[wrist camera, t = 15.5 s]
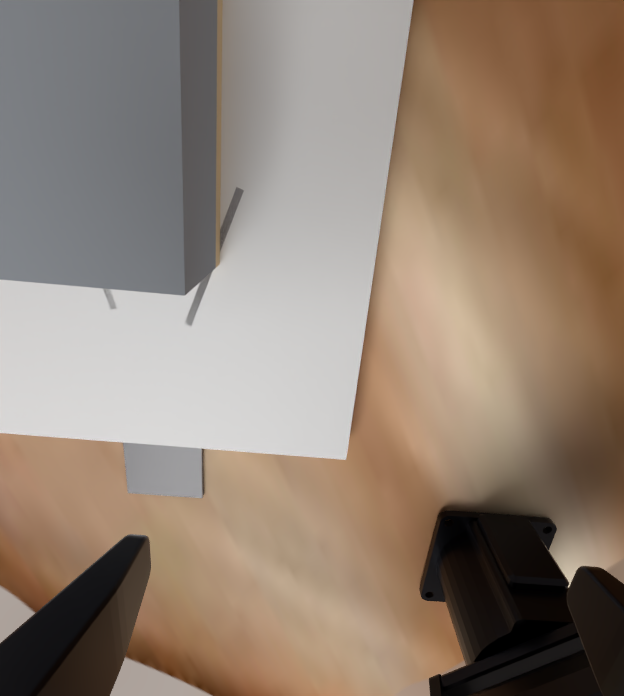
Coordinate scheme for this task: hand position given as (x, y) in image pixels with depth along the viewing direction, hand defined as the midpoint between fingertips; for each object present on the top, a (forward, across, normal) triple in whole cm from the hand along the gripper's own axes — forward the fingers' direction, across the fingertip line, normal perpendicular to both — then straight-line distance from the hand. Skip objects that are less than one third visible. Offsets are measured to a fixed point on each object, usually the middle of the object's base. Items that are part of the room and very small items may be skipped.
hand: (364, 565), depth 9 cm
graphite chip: (+13, +8, +7) cm, 17 cm away
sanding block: (+10, +8, -8) cm, 16 cm away
